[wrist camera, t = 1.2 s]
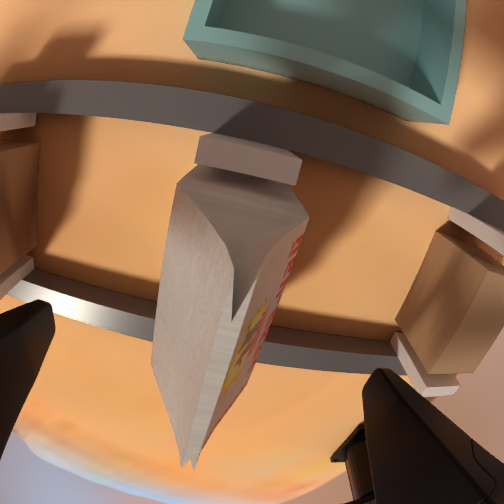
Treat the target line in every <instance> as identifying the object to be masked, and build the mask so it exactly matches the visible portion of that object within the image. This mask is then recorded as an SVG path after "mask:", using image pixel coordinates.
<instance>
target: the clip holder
mask: <svg viewBox="0 0 504 504" xmlns="http://www.w3.org/2000/svg"><path fill="white" fill-rule="evenodd" d="M37 113H53V114H73V115H88V116H100V117H110V118H120V119H129V120H137V121H145V122H152V123H159V124H166V125H172V126H178V127H184V128H190V129H196V130H201V131H206V132H212V133H211V134H207V135H203V136H200V139H199V143H198V148H197V153H196V158H195V163H196V164H201V165H206V166H211V167H216V168H221V169H225V170H230V171H235V172H239V173H244V174H248V175H252V176H257V177H261V178H265V179H269V180H273V181H277V182H281V183H285V184H289V185H293V186H296V183H297V179H298V176H299V172H300V168H301V165H302V161H303V160H302V159H300V158H299V157H297V156H296V155H294V154H293V153H291V152H290V151H293V152H297V153H301V154H304V155H308V156H311V157H315V158H318V159H322V160H325V161H328V162H332V163H335V164H338V165H341V166H344V167H348V168H351V169H354V170H357V171H360V172H363V173H366V174H369V175H372V176H374V177H377V178H380V179H383V180H386V181H389V182H391V183H394V184H397V185H399V186H402V187H405V188H407V189H410V190H412V191H415V192H417V193H420V194H422V195H425V196H427V197H430V198H432V199H435V200H437V201H439V202H442V203H444V204H446V205H449V206H451V207H452V208H451V211H450V213H449V216H448V219H449V220H450V221H452V222H454V223H455V224H457V225H459V226H460V227H462V228H463V229H465V230H466V231H468V232H470V233H471V234H473V235H474V236H476V237H477V238H479V239H480V240H482V241H483V242H485V243H486V244H488V245H489V246H491V247H492V248H493V249H495V250H496V251H498V252H499V253H501V254H502V255H503V256H504V232H503V231H504V201H502V200H501V199H499V198H497V197H496V196H494V195H492V194H491V193H489V192H487V191H486V190H484V189H482V188H480V187H479V186H477V185H475V184H473V183H471V182H469V181H468V180H466V179H464V178H462V177H460V176H458V175H456V174H454V173H452V172H450V171H448V170H446V169H444V168H442V167H440V166H438V165H436V164H434V163H432V162H430V161H428V160H426V159H423V158H421V157H419V156H417V155H414V154H412V153H410V152H408V151H405V150H403V149H401V148H398V147H396V146H393V145H391V144H389V143H386V142H384V141H381V140H379V139H376V138H373V137H371V136H368V135H365V134H363V133H360V132H357V131H354V130H352V129H349V128H346V127H343V126H340V125H337V124H334V123H331V122H328V121H325V120H322V119H318V118H315V117H312V116H308V115H305V114H302V113H298V112H294V111H291V110H287V109H283V108H280V107H276V106H272V105H268V104H264V103H259V102H255V101H251V100H246V99H242V98H237V97H232V96H227V95H222V94H216V93H211V92H205V91H199V90H193V89H186V88H179V87H172V86H164V85H155V84H145V83H134V82H120V81H101V80H46V81H28V82H15V83H5V84H0V131H6V130H12V129H19V128H26V127H33V126H35V124H36V117H37ZM288 150H290V151H288ZM499 229H500V230H499ZM501 230H502V231H501ZM6 294H7V295H9V296H11V297H14V298H16V299H19V300H21V301H24V302H27V303H29V302H32V301H34V300H37V299H41V300H43V301H46V302H49V303H50V304H51V305H52V309H53V312H54V313H57V314H60V315H62V316H65V317H68V318H71V319H74V320H78V321H81V322H84V323H87V324H90V325H93V326H97V327H100V328H103V329H107V330H110V331H114V332H117V333H121V334H125V335H128V336H132V337H136V338H140V339H144V340H147V341H151V342H153V336H154V326H155V317H156V309H157V302H153V301H149V300H145V299H141V298H137V297H133V296H129V295H125V294H121V293H117V292H113V291H109V290H106V289H102V288H98V287H95V286H91V285H88V284H84V283H81V282H77V281H74V280H70V279H67V278H63V277H60V276H57V275H54V274H50V273H47V272H44V271H41V270H38V269H35V268H34V259H33V257H32V256H28V255H25V256H23V257H22V258H21V259H20V260H18V261H17V262H16V263H15V264H13V265H12V266H11V267H10V268H8V269H7V270H6V271H5V272H3V273H2V274H1V275H0V300H1V299H2V298H3V297H4V296H5V295H6ZM256 362H257V363H264V364H271V365H278V366H286V367H294V368H303V369H312V370H322V371H333V372H346V373H360V374H372V373H373V371H374V370H375V369H376V368H379V367H380V368H390V369H391V370H392V371H394V372H395V373H396V374H397V375H408V377H409V379H410V381H411V383H412V385H413V387H414V389H415V390H416V391H417V392H418V393H419V394H421V395H422V396H423V397H434V396H447V395H453V394H454V393H455V392H456V391H457V390H458V388H459V387H460V384H459V382H458V381H457V379H456V377H455V376H454V374H428V373H427V371H426V369H425V368H424V366H423V364H422V363H421V361H420V359H419V358H418V356H417V354H416V353H415V351H414V349H413V348H412V346H411V344H410V343H409V341H408V340H407V338H406V336H405V335H404V333H399V332H395V333H394V335H393V337H392V338H391V340H390V342H388V341H378V340H369V339H361V338H352V337H344V336H337V335H329V334H322V333H315V332H308V331H302V330H295V329H289V328H283V327H276V326H271V325H270V328H269V330H268V333H267V335H266V338H265V340H264V343H263V345H262V348H261V350H260V353H259V355H258V358H257V360H256Z"/></svg>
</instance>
